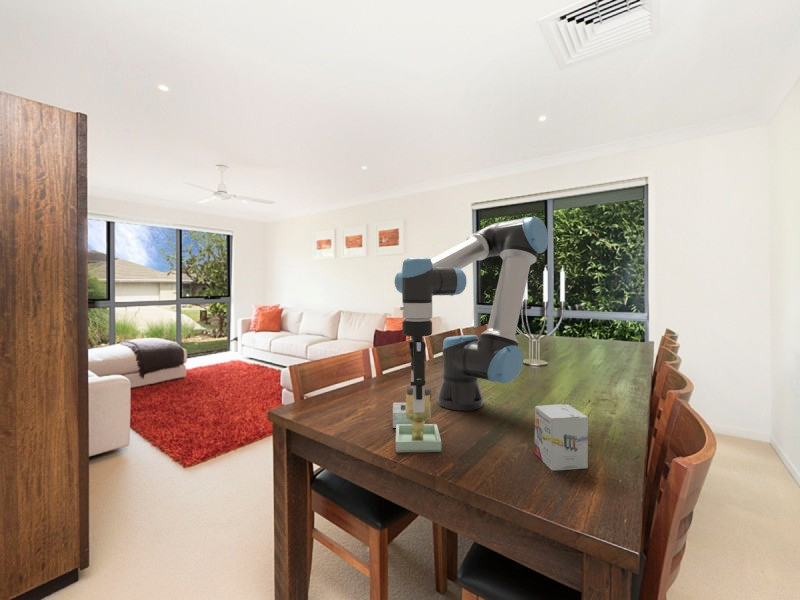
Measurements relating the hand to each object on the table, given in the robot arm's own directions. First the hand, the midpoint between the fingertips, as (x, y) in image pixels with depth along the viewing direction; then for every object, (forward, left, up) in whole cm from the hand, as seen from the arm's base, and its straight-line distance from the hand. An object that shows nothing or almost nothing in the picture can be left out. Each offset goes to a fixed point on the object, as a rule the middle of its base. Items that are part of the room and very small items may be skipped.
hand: (417, 402), depth 91 cm
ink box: (-32, +10, -10) cm, 35 cm away
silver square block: (+2, -13, -10) cm, 17 cm away
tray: (0, 0, -10) cm, 10 cm away
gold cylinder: (0, 0, -10) cm, 10 cm away
